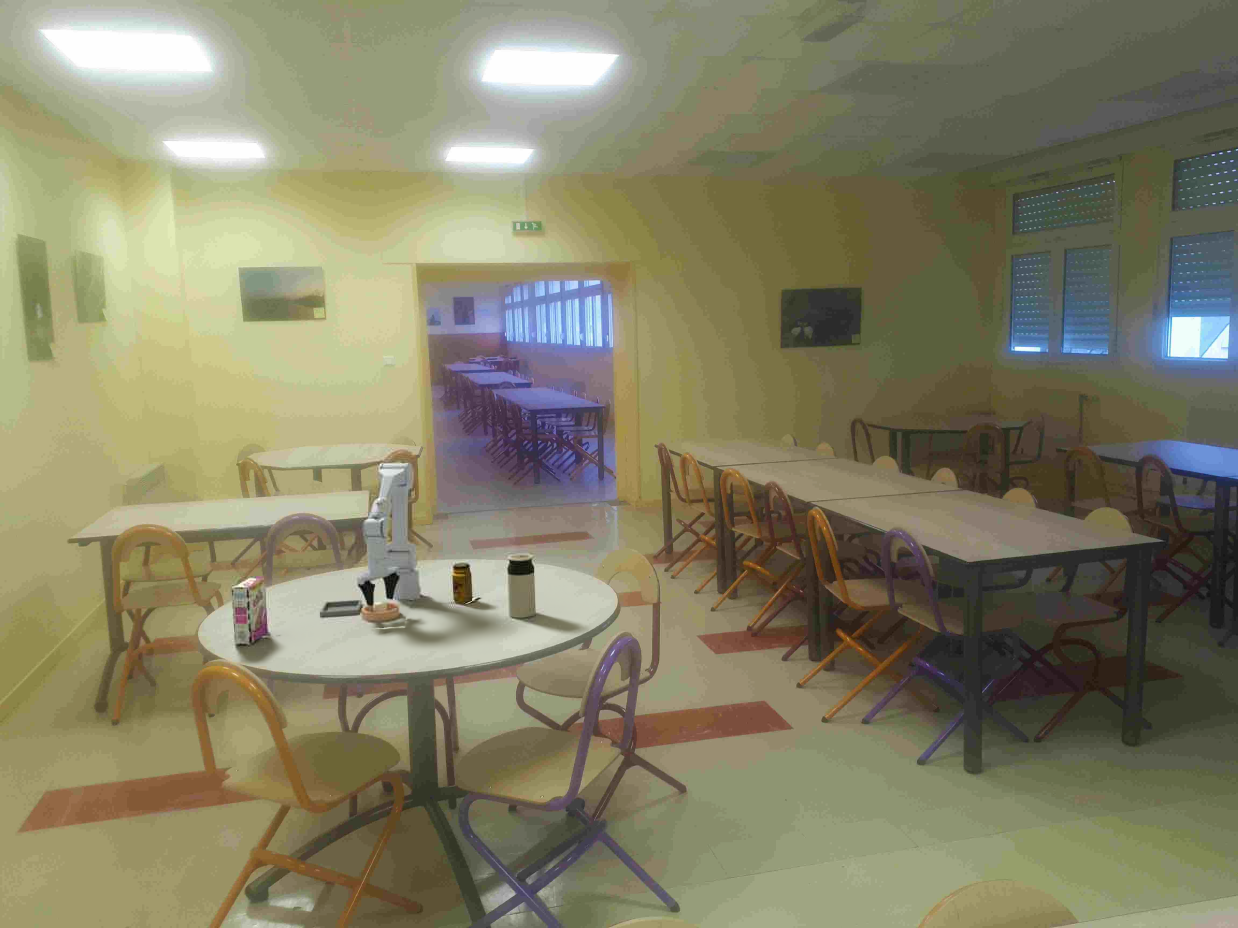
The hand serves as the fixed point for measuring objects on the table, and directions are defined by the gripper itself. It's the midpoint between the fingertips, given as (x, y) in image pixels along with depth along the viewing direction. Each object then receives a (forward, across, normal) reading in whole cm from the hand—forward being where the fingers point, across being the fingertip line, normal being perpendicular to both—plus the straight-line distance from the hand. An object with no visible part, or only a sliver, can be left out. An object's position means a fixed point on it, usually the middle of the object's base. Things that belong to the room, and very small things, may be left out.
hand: (380, 601), depth 267 cm
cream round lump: (+4, 0, 0) cm, 4 cm away
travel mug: (+5, -24, +36) cm, 43 cm away
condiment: (+5, -26, +10) cm, 28 cm away
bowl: (+5, 0, 0) cm, 5 cm away
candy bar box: (+5, +33, -16) cm, 37 cm away
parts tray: (+5, +3, -15) cm, 16 cm away
